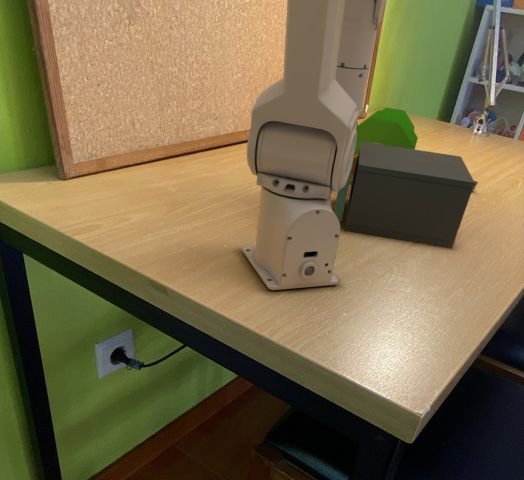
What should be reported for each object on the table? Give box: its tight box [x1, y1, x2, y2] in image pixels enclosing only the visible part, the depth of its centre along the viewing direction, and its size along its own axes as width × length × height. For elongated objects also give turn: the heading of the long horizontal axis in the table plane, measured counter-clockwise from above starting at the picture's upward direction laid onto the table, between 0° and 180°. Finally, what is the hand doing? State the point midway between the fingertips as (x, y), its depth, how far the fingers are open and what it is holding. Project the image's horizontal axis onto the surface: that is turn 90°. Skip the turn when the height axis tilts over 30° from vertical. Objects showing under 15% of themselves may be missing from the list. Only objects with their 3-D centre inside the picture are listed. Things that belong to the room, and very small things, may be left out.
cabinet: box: [344, 141, 475, 249], centre depth 69 cm, size 14×12×9 cm
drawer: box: [333, 157, 354, 222], centre depth 69 cm, size 18×11×7 cm, turn 80°
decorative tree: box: [350, 107, 419, 180], centre depth 86 cm, size 11×12×30 cm
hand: (326, 177), depth 69 cm, fingers closed
